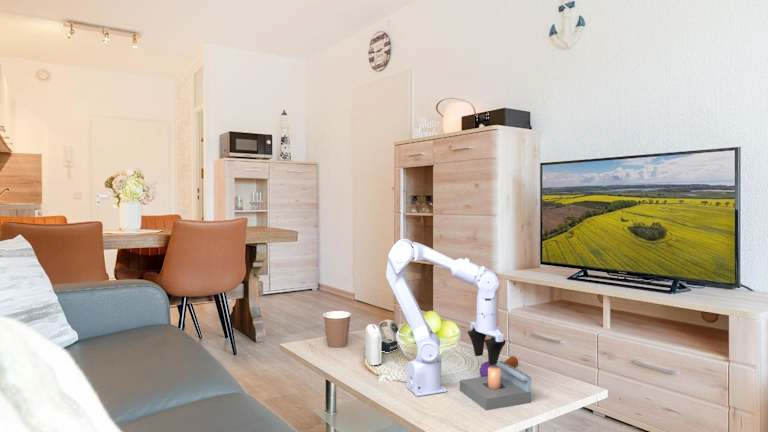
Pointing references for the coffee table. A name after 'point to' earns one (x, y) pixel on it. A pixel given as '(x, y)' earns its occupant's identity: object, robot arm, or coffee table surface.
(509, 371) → the socket
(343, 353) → the coffee table surface
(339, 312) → the coffee cup
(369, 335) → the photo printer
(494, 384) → the peg
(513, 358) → the kendama
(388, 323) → the watch
